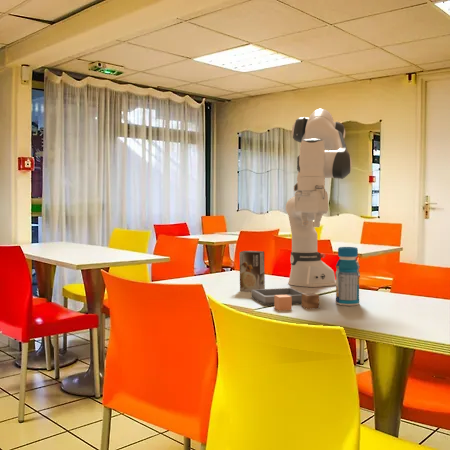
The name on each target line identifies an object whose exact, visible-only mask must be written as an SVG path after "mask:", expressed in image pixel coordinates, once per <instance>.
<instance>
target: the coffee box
mask: <svg viewBox="0 0 450 450" xmlns="http://www.w3.org/2000/svg"><path fill="white" fill-rule="evenodd" d="M238 255H239V291H240V292H248V293H249V292H250V293H252V290H257V289H266V288H265V287H266V286H265V285H266V284H265V283H266V281H265V279H266V278H265V277H266V276H265V273H266V271H265V251H261V250H242V251H239V254H238Z"/></svg>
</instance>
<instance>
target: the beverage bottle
mask: <svg viewBox="0 0 450 450" xmlns="http://www.w3.org/2000/svg"><path fill="white" fill-rule="evenodd" d="M358 253H359V252H358V247H356V246H355V247H354V246H339V247H338V249H337V257H339V259H338V260H337V262H336V265H335V268H336V271H335V273H334V275H335V280H336V285H335V286H336V288H335V304H337V305H339V306H345V307H347V306H348V307H352V306H353V307H354V306H358V305H359V304H360V277H361V272H360V263H359V261H358V260H357V257H358Z"/></svg>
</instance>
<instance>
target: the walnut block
mask: <svg viewBox="0 0 450 450" xmlns="http://www.w3.org/2000/svg"><path fill="white" fill-rule="evenodd" d="M301 307H302V308H304V309H306V308H307V310H312V308H315V309H320V294H316V293H314V292H312V293H311V292H310V293H305V294H302V304H301ZM310 308H311V309H310Z"/></svg>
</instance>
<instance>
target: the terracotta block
mask: <svg viewBox="0 0 450 450" xmlns="http://www.w3.org/2000/svg"><path fill="white" fill-rule="evenodd" d="M292 305H293V304H292V297H291V296H289V295H274V305H273V307H274V309H275V310H277V311H279V310H280V311H291V310H292V309H293V306H292Z"/></svg>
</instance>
